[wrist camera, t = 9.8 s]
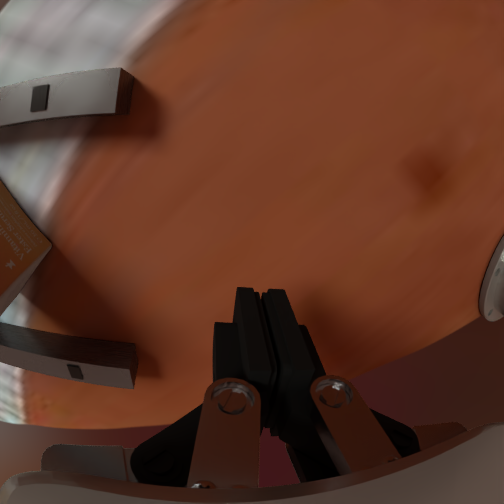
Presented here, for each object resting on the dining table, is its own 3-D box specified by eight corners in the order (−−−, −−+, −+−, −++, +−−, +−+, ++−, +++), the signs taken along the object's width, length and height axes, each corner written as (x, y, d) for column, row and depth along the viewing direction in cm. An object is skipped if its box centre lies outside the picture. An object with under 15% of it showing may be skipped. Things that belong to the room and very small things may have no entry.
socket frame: (134, 76, 11) (116, 64, 8) (138, 364, 18) (132, 396, 16) (-59, 116, 8) (-86, 120, 5) (-22, 333, 15) (-37, 354, 12)
